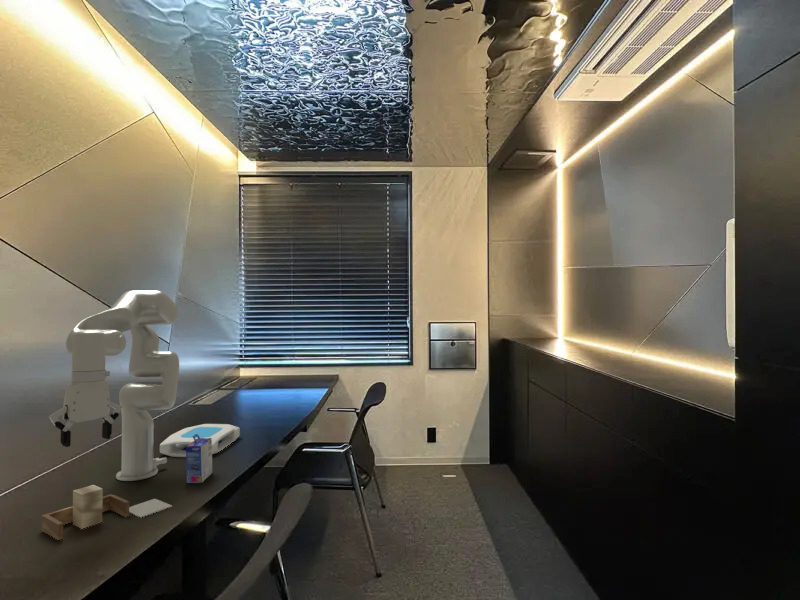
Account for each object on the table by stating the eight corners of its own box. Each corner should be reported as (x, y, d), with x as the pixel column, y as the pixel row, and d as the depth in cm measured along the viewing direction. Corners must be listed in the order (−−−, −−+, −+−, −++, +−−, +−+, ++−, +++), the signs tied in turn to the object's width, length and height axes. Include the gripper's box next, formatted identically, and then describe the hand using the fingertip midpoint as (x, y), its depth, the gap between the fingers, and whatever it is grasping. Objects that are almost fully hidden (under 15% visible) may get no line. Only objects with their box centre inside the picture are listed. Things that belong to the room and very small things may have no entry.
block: (93, 518, 131) (93, 484, 131) (102, 522, 128) (102, 488, 128) (72, 525, 126) (73, 490, 126) (81, 529, 124) (82, 494, 124)
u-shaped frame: (111, 508, 137) (111, 493, 137) (129, 516, 132) (129, 501, 132) (41, 531, 123) (42, 515, 123) (58, 541, 117) (58, 524, 118)
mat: (154, 499, 143) (154, 498, 143) (172, 506, 138) (172, 505, 138) (123, 510, 135) (123, 509, 135) (140, 518, 130) (140, 516, 130)
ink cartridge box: (196, 473, 166) (197, 431, 166) (212, 473, 166) (213, 431, 167) (184, 483, 156) (185, 438, 156) (202, 483, 156) (202, 438, 157)
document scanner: (158, 457, 185) (158, 440, 185) (193, 437, 213) (193, 423, 213) (211, 458, 184) (212, 441, 184) (240, 438, 211) (240, 424, 212)
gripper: (115, 373, 137) (114, 433, 137) (44, 379, 123) (42, 447, 122) (128, 375, 133) (127, 437, 133) (57, 381, 119) (55, 451, 118)
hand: (86, 442), depth 127 cm, fingers open, 9 cm apart
